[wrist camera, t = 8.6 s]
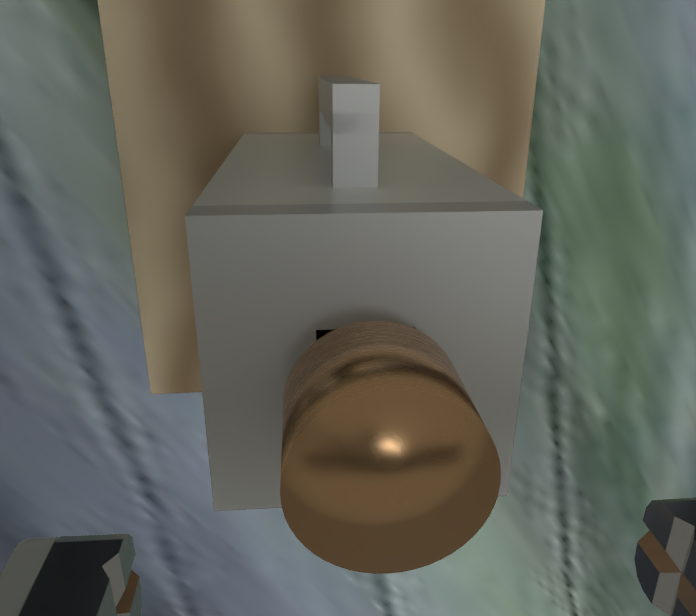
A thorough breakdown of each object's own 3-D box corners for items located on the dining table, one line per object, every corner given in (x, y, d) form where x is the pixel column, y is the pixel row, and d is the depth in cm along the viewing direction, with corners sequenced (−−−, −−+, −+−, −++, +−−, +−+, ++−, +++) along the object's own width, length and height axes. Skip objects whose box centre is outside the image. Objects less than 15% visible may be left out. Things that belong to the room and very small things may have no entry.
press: (253, 289, 32) (214, 511, 16) (241, 74, 28) (172, 88, 12) (404, 286, 32) (507, 495, 17) (413, 74, 28) (558, 88, 13)
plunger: (273, 275, 31) (239, 617, 12) (268, 158, 28) (215, 348, 10) (386, 272, 31) (530, 598, 12) (390, 157, 29) (570, 337, 10)
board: (156, 380, 35) (151, 393, 34) (106, -7, 28) (96, -11, 26) (494, 368, 37) (502, 380, 35) (534, -2, 29) (545, -5, 28)
